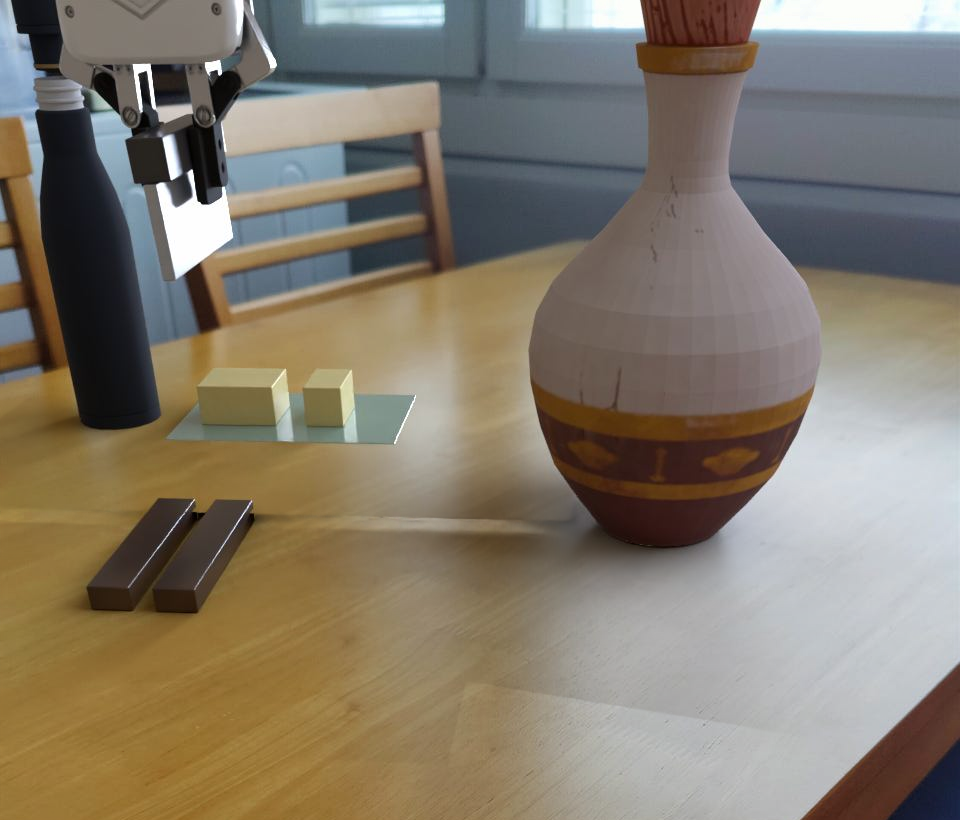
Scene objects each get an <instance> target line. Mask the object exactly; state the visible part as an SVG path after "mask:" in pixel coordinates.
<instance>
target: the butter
mask: <svg viewBox="0 0 960 820" xmlns="http://www.w3.org/2000/svg"><path fill="white" fill-rule="evenodd" d="M196 392H197V398H198V402H199V406H200V412H201V419H202V424H203V425H258V426H276V425H277V424H278V422H279V421H280V419H281V418H282V416H283V415H284V413H285V412H286V411H287V409H288V408H289V406H290V402H289V393H290V392H289V384H288V375H287V369H286V368H276V367H275V368H273V367H272V368H271V367H269V368H268V367H267V368H265V367H264V368H263V367H261V368H260V367H213V368H212V369H211V370H210V371H209V372H208V373H207V374H206V375H205V377H204V378H203V379H202V380H200V382H199V383H198V384H197V385H196Z"/></svg>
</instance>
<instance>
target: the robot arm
mask: <svg viewBox="0 0 960 820" xmlns="http://www.w3.org/2000/svg"><path fill="white" fill-rule="evenodd" d="M56 6H57V12H58V18H59V23H60V28H61V33H62V37H63V44H62V50H61V56H60V62H59V69H60V73H61V74H62V75H61V76H65V77H66V78H68V79H70V80H72V81H74V82H76V83H78V84H80V85H82V87H84V88H86V89H88V90H91V91H94V92H95V93H97V95H98V96H100V98H101V99H103V101H104V102H105V103H106V104H108V106H109V107H110V108H112V110H113V111H114V112H115V113H116V114H118V116H119V117H120V120H121V123H123V125H124V126H125V127H127V128H129V129H130V130H131V131H130V133H131V137H132V136H135V135H137V134H140V133H142V132H145V131H147V130H150V129H152V128H154V127H157V126H159V125H162V124H164V123H165V122H164V121H160V118H159V112H158V111H157V108H156V101H155V91H154V86H153V77H152V69H151V65H184V68H185V74H186V79H187V84H188V91H189V97H190V104H191V109H192V114H193V115H192V122H193V127H192V128H189V130H188V132H187V137H188V144H189V150H190V156H191V161H192V166H193V170H192V171H193V178H194V185H195V192H196V198H197V202H198V203H200V204H201V205H211V204H213V203H214V202H216V201H218V200H219V199H221V198H222V197H223V187H225V188H226V187H227V186H228V183H229V172H228V165H227V157H226V152H225V148H224V141H223V134H224V132H223V133H222V128H223V124H222V125H221V123H222V122H223V121H225V119H227V116H228V113H229V112H230V110H231V108H232V107H233V106H234V104H235V103H236V101H237V100H238V99H239V97H240V96H241V94H242V93H243V92H244V91H245V90H247V89H249V87H252V86H253V85H255V84H256V83H258V82H260V81H261V80H263V79H265V78H267V77H268V76H270V75H271V74H273V73H274V72H275V70H276V69H277V62H276V58H275V56H274V54H273V53H272V50H271V48H270V46H269V43H268V42H267V40H266V37H265V36H264V33H263V32H262V29H261V27H260V26H259V23H258V21H257V19H256V17H255V9H254V3H253V0H56ZM239 55H241V58H240V60H239V62H237V63H236V64H234V65H232V66H231V67H230V68H227V69H226V70H224V71H222V66H221V61H223V60H225V59H228V58H229V57H235V56H239ZM105 65H109V66H110V65H111V66H112V68H113V69H109V68H108V67H105ZM145 184H147V183H144V184H140V185H141V187H143V186H144V185H145Z"/></svg>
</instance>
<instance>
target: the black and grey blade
mask: <svg viewBox="0 0 960 820" xmlns="http://www.w3.org/2000/svg"><path fill="white" fill-rule="evenodd" d="M192 115H193V113H186V114H184V115H181V116H179V117H176V118H174V119H172V120H170V121H167V122H164V124H162V125H159V126H157V127H154V128H152V129H150V130H147V131H145V132H142V133H140V134H137V135H135V136H132V135H131V136H130V137H128V138H125V140H124V142H125V147H126V152H127V158H128V162H129V166H130V170H131V175H132V180H133V183H134V184H135V185H141V184H144V183H147V184H145V185H144V186H142V188H143V191H144V196H145V201H146V205H147V210H148V216H149V220H150V225H151V229H152V235H153V239H154V244H155V249H156V253H157V257H158V263H159V267H160V272H161V276H162V277H161V278H162V281H163V282H176V281H177V280H178V279H180V278H182V277H183V276H184V275H185V274H187V272H189V271H190V270H192V269H193V268H195V267H197V265H198V264H200V263H202V261H204V260H205V259H207V258H208V257H209V256H211V255H212V254H213V253H215V252H216V251H217V250H219V249H220V248H222V247H223V246H224V245H226V244H227V243H228V242H230V241H231V240H232V239H234V234H233V228H232V222H231V217H230V211H229V206H228V205H229V204H228V199H227V193H226V189H225V188H226V186H225V187H223V197H222V198H221V199H219V200H218V201H216V202H214V203H213V204H211V205H201V204H200V203H198V202H197V198H196V192H195V185H194V178H193V171H192V170H193V166H192V161H191V156H190V150H189V144H188V137H187V132H188V130H189V128H192V127H193V122H192ZM221 125H222V126H223V123H222V122H221ZM222 133H223V141H224V148H225V153H227V147H226V141H225V140H226V139H225V135H224V129H223V127H222Z"/></svg>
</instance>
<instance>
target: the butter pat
mask: <svg viewBox="0 0 960 820" xmlns="http://www.w3.org/2000/svg"><path fill="white" fill-rule="evenodd" d="M302 393H303V399H304V409H305V419H306V426H313V427H344V425H345V423H346V421H347V420H348V418H349V416H350V414H351V412H352V411H353V409H354V407H355V404H354V394H355V393H354V379H353V369H350V368H349V369H347V368H346V369H345V368H343V369H342V368H315V369H314V371H313V372H312V373H311V375H310V376H309V377H308V379H307V381H306V382H305V384H304V385H303V386H302Z"/></svg>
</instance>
